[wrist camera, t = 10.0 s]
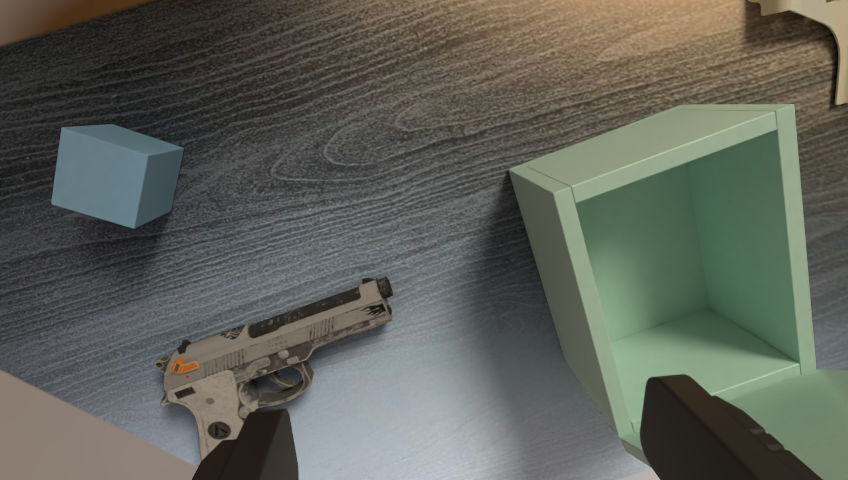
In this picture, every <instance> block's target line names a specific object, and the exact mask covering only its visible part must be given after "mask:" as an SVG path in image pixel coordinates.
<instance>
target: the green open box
mask: <svg viewBox="0 0 848 480" xmlns="http://www.w3.org/2000/svg"><path fill="white" fill-rule="evenodd" d="M508 171H509V174H510V178H511V181H512V184H513V188H514V191H515V194H516V198H517V201H518V205H519V208H520V211H521V215H522V218H523V221H524V225H525V228H526V231H527V235H528V238H529V241H530V245H531V248H532V251H533V255H534V258H535V261H536V265H537V268H538V271H539V275H540V278H541V281H542V285H543V288H544V291H545V295H546V298H547V302H548V305H549V308H550V312H551V315H552V318H553V322H554V325H555V328H556V332H557V335H558V338H559V342H560V345H561V348H562V352H563V355H564V358H565V361H566V362H567V364H568V365H569V367H570V368H571V370H572V371H573V373H574V374H575V376H576V377H577V379H578V380H579V381H580V383H581V384H582V386H583V387H584V389H585V390H586V392H587V393H588V394H589V396H590V397H591V399H592V400H593V402H594V403H595V405H596V406H597V408H598V409H599V410H600V412H601V413H602V415H603V416H604V418H605V419H606V421H607V422H608V424H609V425H610V426H611V428H612V429H613V431H614V432H615V434H616V435H617V437H618V438H619V439H621V438H624V437H626V436H629V435H632V434H634V433H638V432H640V427H641V419H642V411H643V403H644V395H645V387H646V383H647V380H648V379H649V378H650V377H657V376H668V375H679V374H686V375H688V376H690V377H691V378H693V379H694V380H695V381H696V382H697V383H698V384H699V385H700V386H701V387H703V388H704V389H705V390H706V391H707V392H708V393H709V394H710V395H711V396H718V397H720V398H721V399H723V400H725V401H730V400H733V399H736V398H738V397H741V396H744V395H747V394H750V393H753V392H756V391H759V390H761V389H764V388H767V387H770V386H773V385H776V384H779V383H782V382H784V381H787V380H790V379H793V378H796V377H799V376H800V375H801V376H802V375H805V374H807V373H810V372H813V371H816V362H815V350H814V338H813V326H812V314H811V302H810V290H809V278H808V266H807V254H806V242H805V230H804V218H803V206H802V194H801V182H800V170H799V158H798V146H797V134H796V122H795V109H794V104H727V105H679V106H677V107H674V108H671V109H669V110H666V111H663V112H660V113H658V114H655V115H652V116H650V117H647V118H644V119H642V120H639V121H636V122H634V123H631V124H628V125H626V126H623V127H620V128H618V129H615V130H612V131H609V132H607V133H604V134H601V135H599V136H596V137H593V138H591V139H588V140H585V141H583V142H580V143H577V144H575V145H572V146H569V147H566V148H564V149H561V150H558V151H556V152H553V153H550V154H548V155H545V156H542V157H540V158H537V159H534V160H532V161H529V162H526V163H524V164H521V165H518V166H515V167H513V168H510V169H508Z"/></svg>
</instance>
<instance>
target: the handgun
mask: <svg viewBox="0 0 848 480" xmlns="http://www.w3.org/2000/svg"><path fill="white" fill-rule="evenodd" d="M362 282H363V283H361V284H359V287H357V288H354V289H351V290H348V291H346V292H343V293H340V294H337V295H334V296H331V297H329V298H326V299H323V300H320V301H317V302H315V303H312V304H309V305H306V306H303V307H301V308H298V309H295V310H292V311H289V312H286V313H284V314H281V315H278V316H275V317H272V318H270V319H267V320H264V321H261V322H258V323H255V324H253V323H248V324H246V325H243V326H240V327H237V328H234V329H232V330H229V331H226V332H223V333H220V334H217V335H215V336H212V337H209V338H206V339H203V340H201V341H198V342H195V343H190V341H188V340H187V339H186V340H183V341H182V345H180V346H179V347H178V348H177V349H176V350H175V352H174V353H172V354H171V356H160V357H159V358H158V359H157V360H156V361H155V362H154V367H155V368H156V369H157V370H160V371H161V372H163V373H164V374H165V375H164V378H163V387H164V392H166V394H165V395H164V397H163V398H162V400H161V403H160V406H161V405H165V404H170V403H176V404H180V405H183V406H184V407H186V408H188V409H189V410H190V411H191V412H192V413H193V415H194V416H195V419H196V421H197V426H198V435H199V450H200V457H201V461H202V460H203V459H204V458H205V457H206V456H207V455H208V454H209V453H210V452H211V451H212V450H213V449H214V448H215V447H216V446H217V445H218V444H219V443H220V442H221V441H222V440H231V439H237V437H238V435H239V432H240V430H241V428H242V426H243V424H244V421H245V419H246V417H247V415H248V414H249V413H250V412H255V411H259V410H258V408H261V407H266V406H273V405H277V404H281V403H284V402H287V401H289V400H292V399H294V398H296V397H297V396H299V395H300V394H302V393H303V392H304V391H305V390H306V389H307V388H308V387H309V386H310V385H311V383H312V379H313V374H314V371H313V369H312V367H311V365H310V363H309V361H308V360H307V359H308V358H309V357H310V356H311V355H312V353H313V352H314V351H315V350H316V349H318V348H320V347H322V346H324V345H327V344H330V343H333V342H336V341H339V340H341V339H344V338H347V337H350V336H353V335H355V334H358V333H361V332H364V331H367V330H370V329H372V328H375V327H377V326H378V325H381V324H384V323H387V322H390V321H392V315H391V314H392V310H391V307H390V306H389V305H388V303H387V301H386V298H387V297H390V296H393V292H392V288H391V285H390V282H389V280H388V278H387V277H385V278H382V279H379V280H377V278H375V279H371V278H365V279H363V280H362ZM285 367H293V368H296V369H297V370H299V371H300V373H301V375H302V377H303V379H302V380H301V381H300V382H299V383H298V384H296V385H295V381H294V380H287V379H284V378H282V377H280V376H279V375H278V373H277V372H276V371H277V370H279V369H282V368H285ZM263 375H267V376H268V377H269V379H270V381H274V382H275V383H276V384H277V385H279V386H283V387H289V388H287V389H284V390H280V391H274V392H265V391H260V390H259V389H258V388H257V387H255V385H254V384H253V382H252V379H254V378H257V377H260V376H263Z"/></svg>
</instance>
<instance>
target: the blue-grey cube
mask: <svg viewBox="0 0 848 480" xmlns="http://www.w3.org/2000/svg"><path fill="white" fill-rule="evenodd" d="M183 152H184V148H183V147H180V146H177V145H174V144H171V143H168V142H165V141H162V140H159V139H156V138H153V137H150V136H147V135H144V134H141V133H138V132H135V131H132V130H129V129H126V128H123V127H120V126H117V125H114V124H106V125H91V126H75V127H62V128H61V135H60V142H59V150H58V157H57V164H56V172H55V179H54V187H53V194H52V201H51V204H52V205H56V206H59V207H62V208H66V209H69V210H72V211H76V212H79V213H83V214H86V215H89V216H93V217H96V218H99V219H103V220H106V221H109V222H113V223H116V224H120V225H123V226H126V227H130V228H133V229H135V228H137V227H139V226H141V225H143V224H145V223H147V222H149V221H151V220H153V219H156V218H158V217H160V216H162V215H164V214H166V213H168V212H170V211H171V208H172V204H173V199H174V194H175V189H176V185H177V180H178V175H179V171H180V166H181V161H182V156H183Z"/></svg>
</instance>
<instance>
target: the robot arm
mask: <svg viewBox="0 0 848 480" xmlns="http://www.w3.org/2000/svg"><path fill="white" fill-rule="evenodd" d="M640 442H641V446H642V450H643V453H644V455H645V457H646V459H647V461H648V463H649V464H650V466H651V467H652V469H653V470H654V471H655V473H656V474H657V475H658V477H659V478H660V480H823V479H821V478H820V477H819V476H818V475H817V474H816V473H815V472H813V471H812V470H811V469H810V468H809V467H808V466H807V465H805V464H804V463H803V462H802V461H801V460H800V459H798V458H797V457H796V456H795V455H794V454H793V453H792V452H790V451H789V450H785V449H784V445H782V444H781V443H780V442H779V441H778V440H777V439H775V438H774V437H773V436H772V435H771V434H770V433H768V434H767V433H766V432H765V429H764V428H763V427H762V426H760V425H759V424H758V423H757V422H756V421H755V420H754V419H752V418H751V417H750V416H749V415H748V414H747V413H746V412H744V411H743V410H741V409H740V408H738V407H736V406H734V405H732V404H730V403H729V402H727V401H725V400H723V399H721V398H720V397H718V396H711V395H710V394H709V393H708V392H707V391H706V390H705V389H704V388H703V387H701V386H700V385H699V384H698V383H697V382H696V381H695V380H694V379H693V378H691V377H690V376H688V375H686V374H679V375H668V376H657V377H650V378H649V379H648V380H647V383H646V387H645V395H644V403H643V411H642V419H641V427H640ZM192 480H298V462H297V457H296V451H295V445H294V439H293V433H292V428H291V422H290V416H289V413H288V411H287V409H278V410H266V411H255V412H250V413H249V414H248V415H247V417H246V419H245V421H244V424H243V426H242V428H241V430H240V432H239V435H238V437H237V439H231V440H222V441H221V442H220V443H219V444H218V445H217V446H216V447H215V448H214V449H213V450H212V451H211V452H210V453H209V454H208V455H207V456H206V457H205V458H204V459H203V460H202V461H201V463H200V465H199V467H198V469H197V471H196V473H195V475H194V477H193V479H192Z"/></svg>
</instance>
